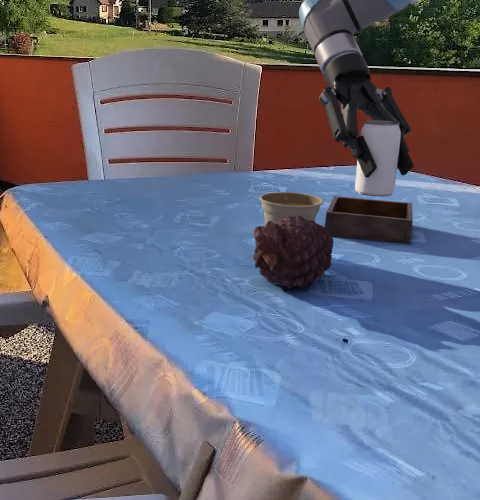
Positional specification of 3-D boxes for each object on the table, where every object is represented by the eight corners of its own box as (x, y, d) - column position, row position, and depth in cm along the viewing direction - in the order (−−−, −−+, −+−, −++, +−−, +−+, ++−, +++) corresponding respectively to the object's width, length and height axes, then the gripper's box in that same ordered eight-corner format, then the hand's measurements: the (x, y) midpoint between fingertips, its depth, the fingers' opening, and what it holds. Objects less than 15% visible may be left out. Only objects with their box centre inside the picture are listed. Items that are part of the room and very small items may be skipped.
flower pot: (320, 264, 104) (325, 207, 102) (255, 260, 106) (259, 203, 103) (316, 246, 113) (321, 193, 110) (256, 242, 114) (260, 190, 112)
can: (357, 187, 126) (364, 119, 122) (395, 191, 123) (404, 121, 120) (351, 194, 120) (358, 123, 117) (391, 198, 118) (400, 125, 114)
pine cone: (280, 257, 107) (323, 207, 103) (325, 304, 102) (372, 253, 98) (215, 251, 93) (262, 192, 89) (264, 304, 88) (315, 245, 84)
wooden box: (409, 224, 128) (412, 202, 126) (409, 244, 115) (412, 220, 114) (331, 216, 132) (334, 195, 131) (324, 235, 120) (326, 212, 119)
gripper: (378, 79, 133) (425, 181, 123) (286, 80, 128) (328, 187, 118) (399, 51, 127) (451, 155, 117) (303, 50, 121) (349, 160, 111)
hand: (389, 171), depth 117 cm, fingers closed on can, 6 cm apart
